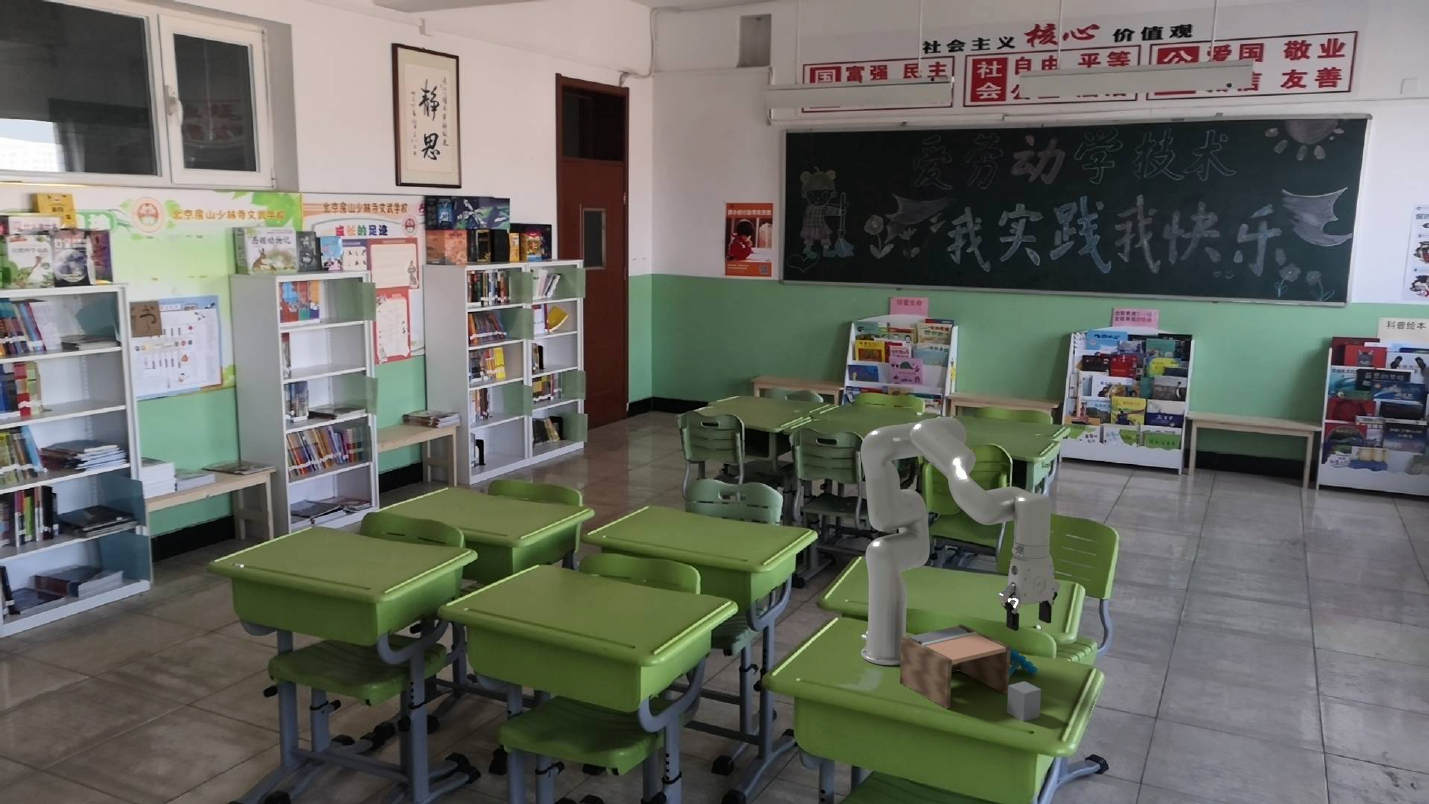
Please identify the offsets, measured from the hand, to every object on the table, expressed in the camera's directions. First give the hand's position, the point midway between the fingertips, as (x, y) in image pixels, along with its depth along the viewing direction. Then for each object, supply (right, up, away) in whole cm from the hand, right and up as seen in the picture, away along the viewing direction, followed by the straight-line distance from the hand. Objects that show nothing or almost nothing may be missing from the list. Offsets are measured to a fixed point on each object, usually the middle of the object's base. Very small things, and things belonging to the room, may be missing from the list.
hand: (1028, 625), depth 233 cm
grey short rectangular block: (0, -18, +3) cm, 18 cm away
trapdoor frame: (-13, -19, +18) cm, 28 cm away
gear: (+5, -18, +26) cm, 32 cm away
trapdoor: (-12, -11, +16) cm, 23 cm away
